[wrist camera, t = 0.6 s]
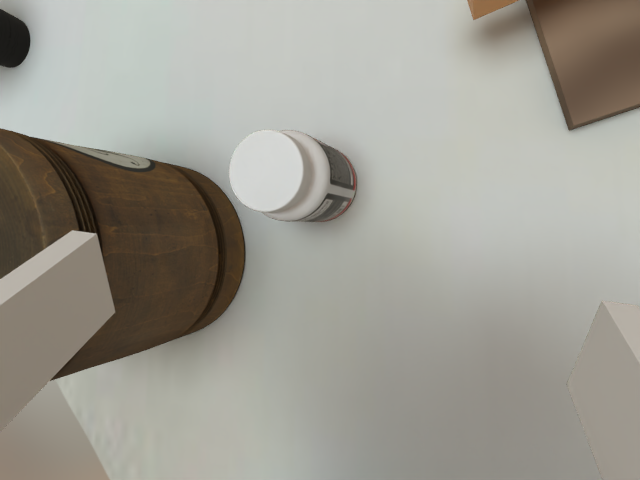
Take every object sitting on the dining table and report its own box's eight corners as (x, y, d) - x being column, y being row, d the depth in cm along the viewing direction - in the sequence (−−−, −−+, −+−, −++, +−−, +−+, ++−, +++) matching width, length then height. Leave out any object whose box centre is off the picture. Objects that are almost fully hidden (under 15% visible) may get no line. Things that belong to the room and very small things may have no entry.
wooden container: (194, 131, 38) (-141, 18, 18) (276, 283, 36) (6, 359, 15) (81, 222, 43) (-293, 218, 22) (148, 362, 40) (-196, 504, 20)
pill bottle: (296, 142, 35) (231, 111, 26) (365, 154, 33) (322, 126, 24) (281, 213, 36) (212, 208, 26) (348, 229, 34) (300, 230, 25)
